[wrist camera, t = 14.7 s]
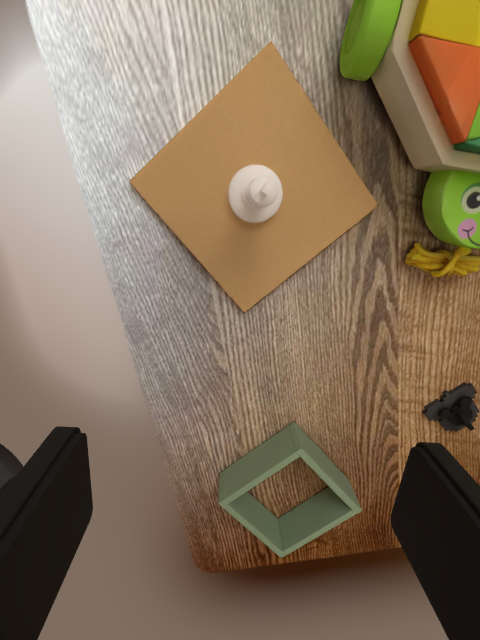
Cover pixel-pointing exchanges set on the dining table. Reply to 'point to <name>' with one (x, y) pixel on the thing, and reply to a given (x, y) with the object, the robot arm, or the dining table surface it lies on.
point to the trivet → (255, 149)
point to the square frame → (302, 519)
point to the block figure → (454, 408)
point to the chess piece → (255, 193)
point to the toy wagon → (428, 109)
